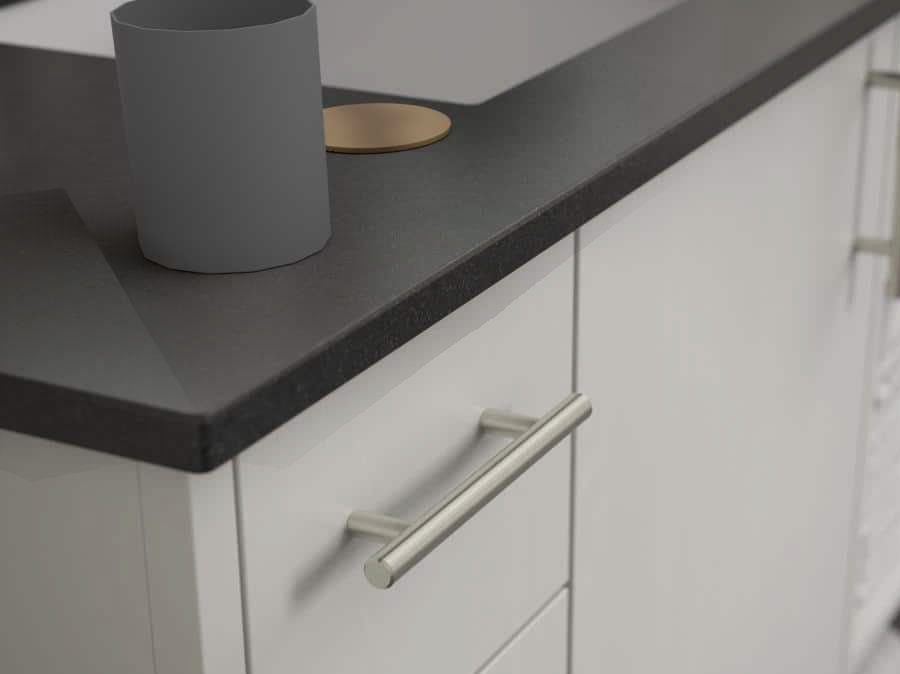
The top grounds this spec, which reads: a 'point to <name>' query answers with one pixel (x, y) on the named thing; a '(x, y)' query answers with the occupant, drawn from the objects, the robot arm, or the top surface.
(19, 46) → the top surface
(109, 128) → the top surface
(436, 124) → the cork coaster
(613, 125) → the top surface
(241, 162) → the cup
